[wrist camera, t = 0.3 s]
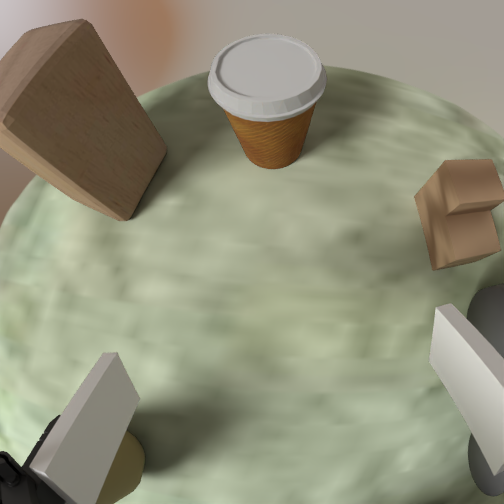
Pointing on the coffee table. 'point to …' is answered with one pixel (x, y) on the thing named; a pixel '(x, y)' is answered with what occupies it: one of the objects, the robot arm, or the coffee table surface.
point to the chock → (460, 212)
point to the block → (77, 118)
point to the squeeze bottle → (123, 471)
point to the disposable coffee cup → (268, 94)
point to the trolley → (500, 337)
